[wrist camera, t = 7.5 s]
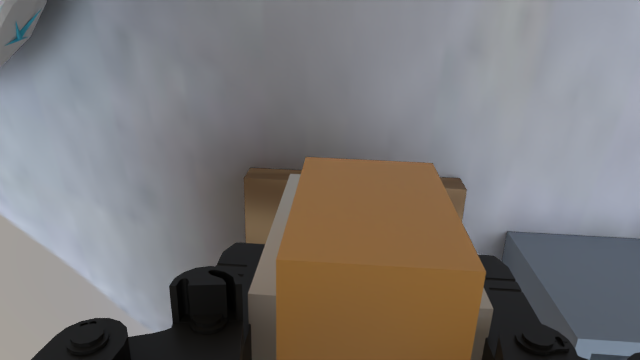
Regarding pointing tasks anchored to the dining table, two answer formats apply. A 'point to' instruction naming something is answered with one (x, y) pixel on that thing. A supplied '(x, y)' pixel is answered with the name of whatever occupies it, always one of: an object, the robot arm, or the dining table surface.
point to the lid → (375, 266)
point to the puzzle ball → (17, 24)
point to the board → (268, 190)
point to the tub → (581, 287)
